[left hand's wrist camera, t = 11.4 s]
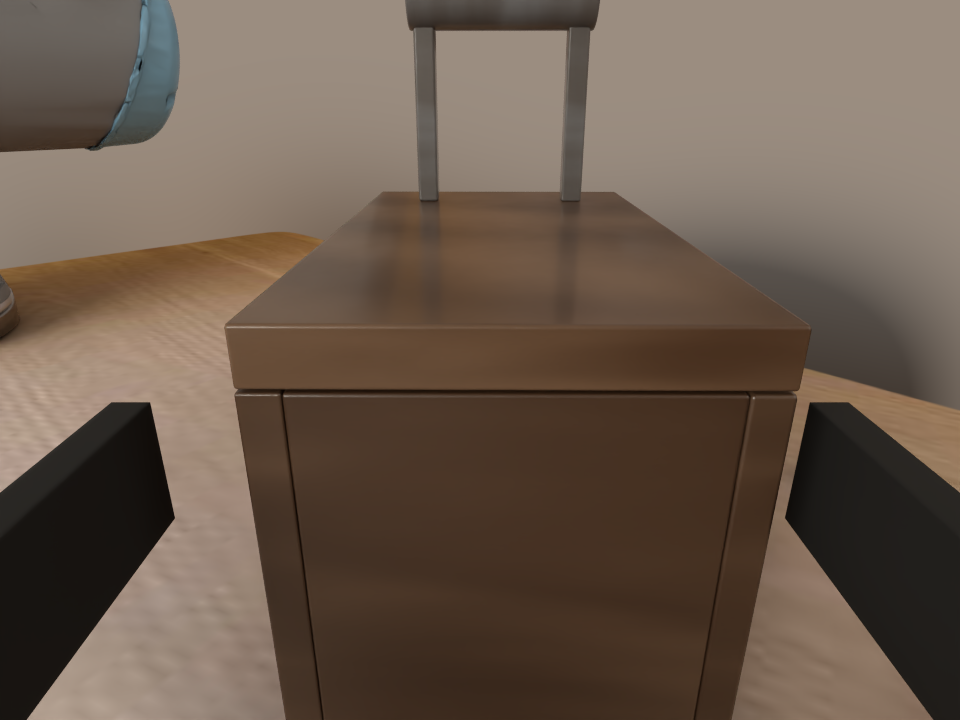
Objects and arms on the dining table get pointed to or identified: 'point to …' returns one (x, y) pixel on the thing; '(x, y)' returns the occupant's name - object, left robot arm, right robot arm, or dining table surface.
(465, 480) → the chest
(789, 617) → the dining table surface
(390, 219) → the lid
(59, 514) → the left robot arm
